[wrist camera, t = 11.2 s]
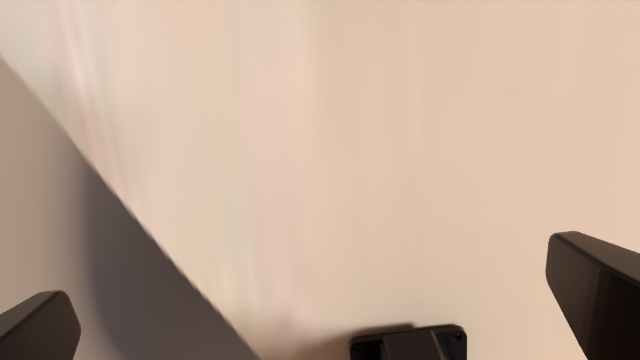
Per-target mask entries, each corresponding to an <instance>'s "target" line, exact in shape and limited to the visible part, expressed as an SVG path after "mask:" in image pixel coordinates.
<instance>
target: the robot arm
mask: <svg viewBox="0 0 640 360" xmlns="http://www.w3.org/2000/svg"><path fill="white" fill-rule="evenodd" d="M546 279H547V282H548V285H549V287H550V289H551V291H552V293H553V295H554V296H555V298H556V300H557V302H558V304H559V306H560V308H561V310H562V312H563V314H564V316H565V318H566V320H567V322H568V324H569V326H570V328H571V329H572V331H573V333H574V335H575V337H576V339H577V341H578V343H579V345H580V347H581V349H582V350H583V352H584V354H585V356H586V357H587V359H588V360H640V253H637V252H634V251H631V250H628V249H625V248H623V247H620V246H617V245H614V244H611V243H608V242H606V241H603V240H600V239H597V238H594V237H591V236H588V235H586V234H583V233H580V232H577V231H568V232H559V233H554V234H553V235H551V236H550V239H549V242H548V252H547V261H546ZM457 334H459V335H458V336H456V337H455V335H457ZM80 335H81V327H80V323H79V320H78V317H77V315H76V313H75V310H74V308H73V305H72V303H71V300H70V298H69V296H68V294H67V293H66V292H65V291H62V290H55V291H45V292H40V293H38V294H36V295H34V296H32V297H30V298H29V299H27V300H25V301H23V302H22V303H20V304H18V305H16V306H15V307H13V308H11V309H9V310H8V311H6V312H4V313H3V314H1V315H0V360H73V357H74V355H75V352H76V349H77V346H78V342H79V340H80ZM358 345H359V346H361V347H359V348H357V347H356V346H358ZM349 349H350V358H351V360H467V335H466V333H465V331H464V329H463V328H462V327H460V326H449V327H440V328H431V329H423V330H414V331H405V332H396V333H387V334H379V335H370V336H361V337H355V338H353V339H351V340H350V342H349Z"/></svg>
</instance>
